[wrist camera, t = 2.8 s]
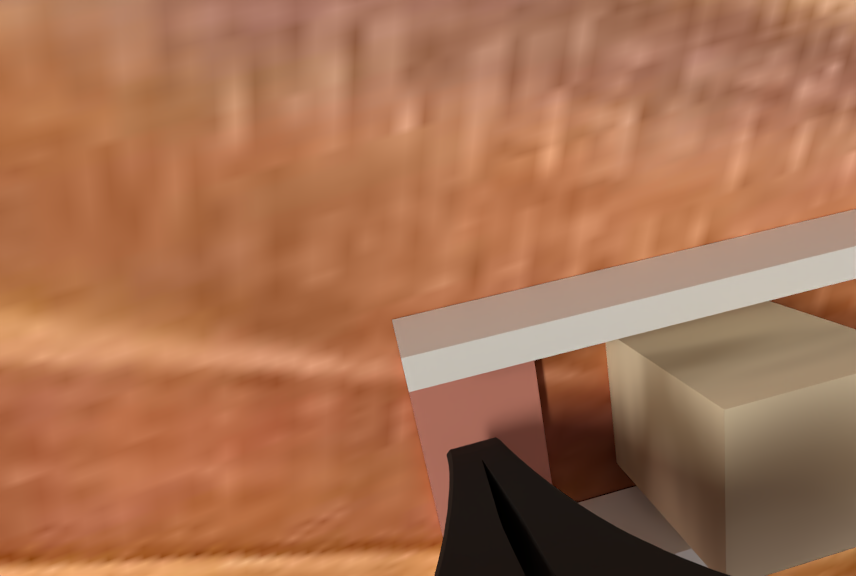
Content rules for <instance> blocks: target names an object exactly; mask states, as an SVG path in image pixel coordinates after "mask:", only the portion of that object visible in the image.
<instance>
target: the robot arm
mask: <svg viewBox="0 0 856 576" xmlns="http://www.w3.org/2000/svg"><path fill="white" fill-rule="evenodd" d="M446 455H447V460H448V465H449V497H448V509H447V517H446V523H445V529H444V536H443V541H442V546H441V551H440V556H439V560H438V564H437V568H436V572H435V576H731V575H728V574H724V573H721V572H718V571H716V570H713V569H710V568H708V567H705V566H702V565H700V564H697V563H695V562H692V561H690V560H687V559H684V558H682V557H679V556H677V555H675V554H672V553H670V552H668V551H665V550H663V549H661V548H659V547H657V546H655V545H653V544H650V543H648V542H646V541H644V540H642V539H640V538H638V537H636V536H633V535H631V534H629V533H627V532H626V531H624V530H622V529H620V528H618V527H616V526H614V525H613V524H611V523H609V522H608V521H606V520H604V519H602V518H601V517H599V516H597V515H596V514H594V513H592V512H591V511H589V510H588V509H586V508H585V507H583V506H582V505H580V504H579V503H577V502H576V501H574V500H573V499H571V498H570V497H568V496H567V495H565V494H564V493H563V492H561V491H560V490H559V489H557V488H556V487H554V486H553V485H552V484H551V483H549V482H548V481H547V480H545V479H544V478H543V477H542V476H540V475H539V474H538V473H537V472H535V471H534V470H533V469H532V468H530V467H529V466H528V465H527V464H526V463H525V462H523V461H522V460H521V459H520V458H519V457H518V456H517V455H516V454H514V453H513V452H512V451H511V450H510V449H509V448H508V447H507V446H506V445H505V444H504V443H503V442H502V441H501V440H500V439H498V438H496V437H495V438H491V439H487V440H484V441H480V442H476V443H472V444H469V445H465V446H461V447H458V448H454V449H450V450H449V452H448V453H447V454H446Z"/></svg>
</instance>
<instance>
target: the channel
mask: <svg viewBox="0 0 856 576" xmlns="http://www.w3.org/2000/svg"><path fill="white" fill-rule="evenodd" d="M852 279H856V209H854V210H850V211H846V212H841V213H837V214H833V215H829V216H825V217H820V218H816V219H812V220H808V221H804V222H799V223H795V224H791V225H787V226H783V227H779V228H774V229H770V230H766V231H762V232H758V233H753V234H749V235H745V236H741V237H737V238H733V239H728V240H724V241H720V242H716V243H712V244H707V245H703V246H699V247H695V248H691V249H687V250H682V251H678V252H674V253H670V254H666V255H661V256H657V257H653V258H649V259H645V260H640V261H636V262H632V263H628V264H624V265H620V266H615V267H611V268H607V269H603V270H599V271H594V272H590V273H586V274H582V275H578V276H574V277H569V278H565V279H561V280H557V281H553V282H548V283H544V284H540V285H536V286H532V287H528V288H523V289H519V290H515V291H511V292H507V293H502V294H498V295H494V296H490V297H486V298H481V299H477V300H473V301H469V302H465V303H461V304H456V305H452V306H448V307H444V308H440V309H435V310H431V311H427V312H423V313H419V314H415V315H410V316H406V317H402V318H398V319H394V320H392V322H393V326H394V330H395V335H396V339H397V343H398V347H399V352H400V356H401V360H402V365H403V369H404V373H405V377H406V382H407V386H408V390H409V392H412V391H416V390H420V389H424V388H428V387H432V386H436V385H439V384H443V383H447V382H451V381H455V380H459V379H463V378H467V377H471V376H475V375H479V374H483V373H487V372H491V371H494V370H498V369H502V368H506V367H510V366H514V365H518V364H522V363H526V362H530V361H534V360H538V359H542V358H546V357H549V356H553V355H557V354H561V353H565V352H569V351H573V350H577V349H581V348H585V347H589V346H593V345H597V344H601V343H604V342H608V341H612V340H616V339H620V338H624V337H628V336H632V335H636V334H640V333H644V332H648V331H652V330H656V329H659V328H663V327H667V326H671V325H675V324H679V323H683V322H687V321H691V320H695V319H699V318H703V317H707V316H711V315H714V314H718V313H722V312H726V311H730V310H734V309H738V308H742V307H746V306H750V305H754V304H758V303H762V302H766V301H769V300H773V299H777V298H781V297H785V296H789V295H793V294H797V293H801V292H805V291H809V290H813V289H817V288H821V287H824V286H828V285H832V284H836V283H840V282H844V281H848V280H852ZM578 503H579V504H580V505H582V506H583V507H585V508H586V509H588V510H589V511H591V512H592V513H594V514H596V515H597V516H599V517H601V518H602V519H604V520H606V521H608V522H609V523H611V524H613V525H614V526H616V527H618V528H620V529H622V530H624V531H626V532H627V533H629V534H631V535H633V536H636V537H638V538H640V539H642V540H644V541H646V542H648V543H650V544H653V545H655V546H657V547H659V548H661V549H663V550H665V551H668V552H670V553H672V554H675V555H677V556H679V557H682V558H684V559H687V560H690V561H692V562H695V563H697V564H700V565H702V566H705V567H708V566H707V565H706V564H705V563H704V562H703V561H702V560H701V559H700V557H699V556H698V555H697V554H696V553H695V552H694V551H693V549H692V548H691V547H690V546H689V545H688V544H687V543H686V541H685V540H684V539H683V538H682V537H681V536H680V535H679V533H678V532H677V531H676V530H675V529H674V528H673V527H672V525H671V524H670V523H669V522H668V521H667V520H666V519H665V518H664V516H663V515H662V514H661V513H660V512H659V511H658V510H657V508H656V507H655V506H654V505H653V504H652V503H651V502H650V500H649V499H648V498H647V497H646V496H645V495H644V494H643V492H642V491H641V490H640V489H639V488H638V487H637V486H634V487H631V488H627V489H624V490H620V491H617V492H613V493H610V494H606V495H603V496H599V497H596V498H592V499H589V500H585V501H582V502H578Z"/></svg>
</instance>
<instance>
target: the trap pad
mask: <svg viewBox="0 0 856 576" xmlns="http://www.w3.org/2000/svg"><path fill="white" fill-rule="evenodd" d="M409 394H410V399H411V403H412V407H413V411H414V416H415V420H416V424H417V429H418V433H419V437H420V441H421V446H422V450H423V454H424V458H425V463H426V467H427V471H428V475H429V480H430V484H431V488H432V493H433V497H434V501H435V505H436V510H437V514H438V518H439V522H440V527H441V531H442V535H443V536H444V529H445V523H446V517H447V509H448V497H449V465H448V460H447V455H446V454H447V453H448V452H449V450H450V449H454V448H458V447H461V446H465V445H469V444H472V443H476V442H480V441H484V440H487V439H491V438H495V437H496V438H498V439H500V440H501V441H502V442H503V443H504V444H505V445H506V446H507V447H508V448H509V449H510V450H511V451H512V452H513V453H514V454H516V455H517V456H518V457H519V458H520V459H521V460H522V461H523V462H525V463H526V464H527V465H528V466H529V467H530V468H532V469H533V470H534V471H535V472H537V473H538V474H539V475H540V476H542V477H543V478H544V479H545V480H547V481H548V482H549V483H551V484H552V481H551V474H550V467H549V460H548V453H547V446H546V439H545V432H544V425H543V418H542V411H541V404H540V397H539V390H538V383H537V376H536V370H535V363H534V361H530V362H526V363H522V364H518V365H514V366H510V367H506V368H502V369H498V370H494V371H491V372H487V373H483V374H479V375H475V376H471V377H467V378H463V379H459V380H455V381H451V382H447V383H443V384H439V385H436V386H432V387H428V388H424V389H420V390H416V391H412V392H409Z"/></svg>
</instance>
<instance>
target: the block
mask: <svg viewBox="0 0 856 576" xmlns="http://www.w3.org/2000/svg"><path fill="white" fill-rule="evenodd" d="M606 353H607V364H608V375H609V385H610V396H611V407H612V418H613V429H614V440H615V450H616V461H617V464H618V465H619V466H620V467H621V469H622V470H623V471H624V472H625V473H626V474H627V475H628V476H629V478H630V479H631V480H632V481H633V482H634V483H635V484H636V486H637V487H638V488H639V489H640V490H641V491H642V492H643V494H644V495H645V496H646V497H647V498H648V499H649V500H650V502H651V503H652V504H653V505H654V506H655V507H656V508H657V510H658V511H659V512H660V513H661V514H662V515H663V516H664V518H665V519H666V520H667V521H668V522H669V523H670V524H671V525H672V527H673V528H674V529H675V530H676V531H677V532H678V533H679V535H680V536H681V537H682V538H683V539H684V540H685V541H686V543H687V544H688V545H689V546H690V547H691V548H692V549H693V551H694V552H695V553H696V554H697V555H698V556H699V557H700V559H701V560H702V561H703V562H704V563H705V564H706V565H707V566H708V568H710V569H713V570H716V571H718V572H721V573H724V574H728V575H731V576H766V575H769V574H772V573H776V572H779V571H782V570H785V569H788V568H791V567H795V566H798V565H801V564H804V563H807V562H810V561H814V560H817V559H820V558H823V557H826V556H829V555H833V554H836V553H839V552H842V551H845V550H848V549H852V548H855V547H856V329H853V328H850V327H847V326H844V325H841V324H838V323H835V322H831V321H828V320H825V319H822V318H819V317H816V316H813V315H810V314H807V313H804V312H801V311H798V310H795V309H792V308H789V307H786V306H783V305H780V304H777V303H774V302H771V301H766V302H762V303H758V304H754V305H750V306H746V307H742V308H738V309H734V310H730V311H726V312H722V313H718V314H714V315H711V316H707V317H703V318H699V319H695V320H691V321H687V322H683V323H679V324H675V325H671V326H667V327H663V328H659V329H656V330H652V331H648V332H644V333H640V334H636V335H632V336H628V337H624V338H620V339H616V340H612V341H608V342H606Z"/></svg>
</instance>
